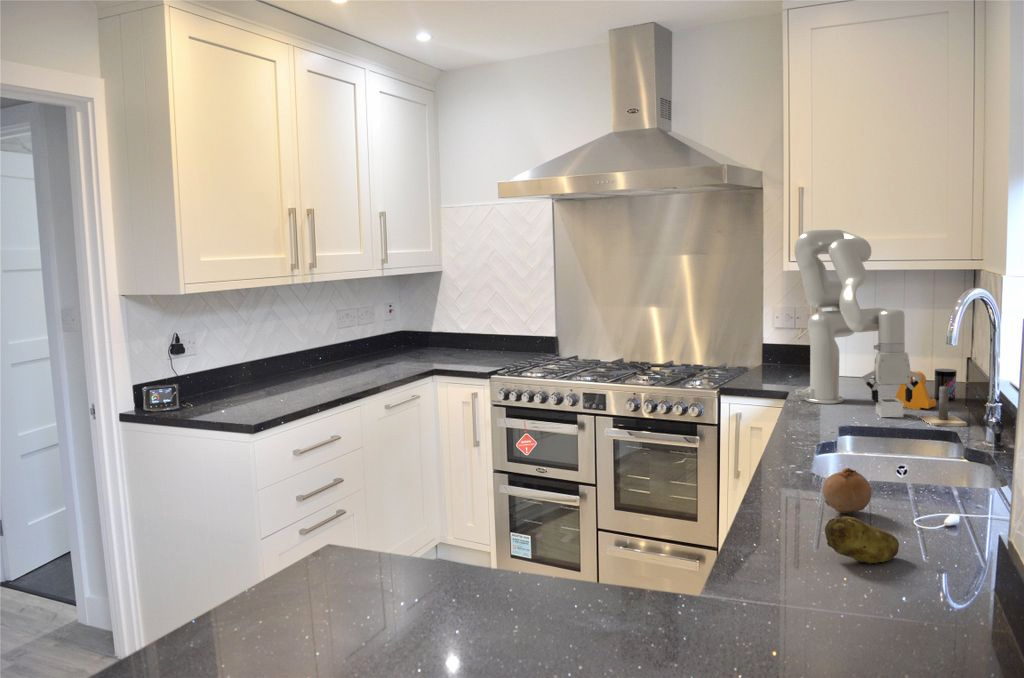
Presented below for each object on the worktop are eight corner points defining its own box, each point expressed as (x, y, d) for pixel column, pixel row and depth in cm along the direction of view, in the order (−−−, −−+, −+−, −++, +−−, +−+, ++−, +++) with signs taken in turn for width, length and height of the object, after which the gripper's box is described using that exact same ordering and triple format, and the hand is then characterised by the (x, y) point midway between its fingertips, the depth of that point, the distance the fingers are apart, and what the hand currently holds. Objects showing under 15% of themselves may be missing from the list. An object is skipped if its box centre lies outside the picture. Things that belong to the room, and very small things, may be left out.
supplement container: (933, 400, 274) (933, 371, 273) (934, 397, 280) (935, 368, 278) (955, 402, 271) (956, 372, 269) (956, 398, 276) (957, 369, 275)
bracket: (936, 407, 264) (937, 371, 263) (928, 411, 259) (929, 374, 258) (903, 403, 272) (904, 368, 271) (894, 406, 267) (895, 371, 266)
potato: (905, 572, 138) (906, 527, 137) (826, 567, 141) (827, 523, 140) (895, 553, 146) (896, 511, 145) (821, 549, 149) (821, 508, 148)
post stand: (930, 426, 239) (932, 390, 238) (920, 418, 249) (921, 384, 248) (967, 426, 237) (968, 390, 236) (954, 418, 247) (955, 384, 246)
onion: (868, 524, 161) (869, 476, 160) (819, 517, 166) (820, 471, 165) (873, 509, 169) (874, 464, 168) (826, 504, 174) (826, 459, 173)
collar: (881, 418, 252) (881, 402, 251) (875, 413, 258) (875, 398, 257) (903, 418, 250) (903, 402, 250) (897, 413, 257) (897, 398, 256)
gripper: (865, 350, 249) (866, 404, 251) (924, 349, 246) (925, 403, 248) (859, 348, 257) (860, 400, 258) (917, 346, 253) (917, 399, 255)
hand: (891, 401), depth 253 cm, fingers open, 9 cm apart
